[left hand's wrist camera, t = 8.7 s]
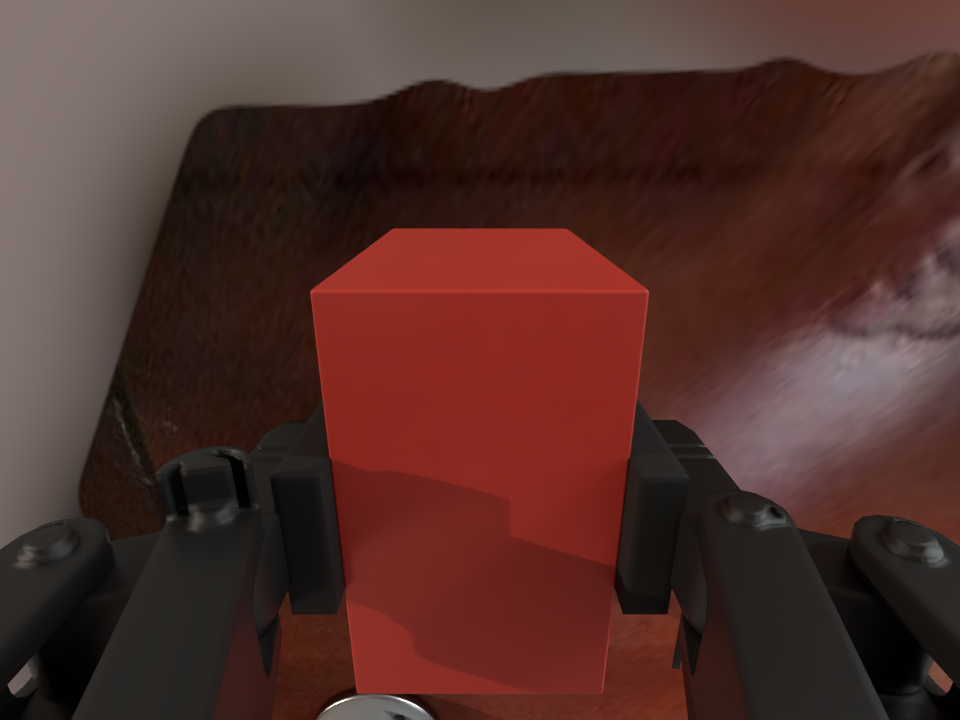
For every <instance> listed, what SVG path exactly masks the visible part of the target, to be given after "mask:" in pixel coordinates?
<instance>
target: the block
mask: <svg viewBox="0 0 960 720" xmlns="http://www.w3.org/2000/svg"><path fill="white" fill-rule="evenodd" d="M648 296H649V292H648V290H647V289H646V288H644V287H643V286H642V285H640V284H639V283H638V282H637V281H635V280H634V279H633V278H631V277H630V276H629V275H627V274H626V273H625V272H623V271H622V270H621V269H619V268H618V267H617V266H615V265H614V264H613V263H611V262H610V261H609V260H607V259H606V258H605V257H603V256H602V255H601V254H599V253H598V252H597V251H595V250H594V249H593V248H591V247H590V246H589V245H587V244H586V243H585V242H583V241H582V240H581V239H579V238H578V237H577V236H575V235H574V234H573V233H572V232H570V231H569V230H568V229H392V230H391V231H389V232H388V233H387V234H385V235H384V236H383V237H381V238H380V239H379V240H377V241H376V242H375V243H373V244H372V245H371V246H369V247H368V248H367V249H365V250H364V251H363V252H361V253H360V254H359V255H358V256H356V257H355V258H354V259H352V260H351V261H350V262H348V263H347V264H346V265H344V266H343V267H342V268H340V269H339V270H338V271H336V272H335V273H334V274H332V275H331V276H330V277H328V278H327V279H326V280H324V281H323V282H322V283H320V284H319V285H318V286H316V287H315V288H314V289H312V290H311V302H312V310H313V319H314V327H315V336H316V345H317V353H318V362H319V371H320V379H321V388H322V396H323V405H324V414H325V422H326V431H327V440H328V448H329V457H330V464H331V473H332V481H333V490H334V499H335V507H336V516H337V525H338V533H339V542H340V550H341V559H342V568H343V576H344V585H345V595H346V604H347V612H348V621H349V629H350V638H351V647H352V655H353V664H354V673H355V681H356V690H357V693H358V694H601V693H602V692H603V685H604V677H605V668H606V659H607V651H608V642H609V633H610V625H611V616H612V607H613V599H614V590H615V581H616V572H617V563H618V555H619V546H620V537H621V529H622V520H623V511H624V503H625V494H626V485H627V477H628V468H629V459H630V452H631V443H632V435H633V426H634V417H635V409H636V400H637V391H638V383H639V374H640V365H641V357H642V348H643V340H644V331H645V322H646V314H647V305H648Z"/></svg>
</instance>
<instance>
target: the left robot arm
mask: <svg viewBox="0 0 960 720" xmlns="http://www.w3.org/2000/svg"><path fill="white" fill-rule="evenodd" d="M155 477H156V481H157V485H158V489H159V493H160V497H161V501H162V505H163V509H164V512H165V516H166V520H167V521H166V523H165V525H164V527H163V529H162V531H159V532H155V533H151V534H146V535H141V536H136V537H131V538H126V539H121V540H116V541H111V542H110V538H109V535H108V532H107V529H106V525H104V524H103V523H102V522H100V521H99V520H98V519H91V518H84V517H82V518H74V519H64V520H59V521H55V522H54V523H52V522H51V523H48V524H45V525H42V526H40V527H38V528H37V529H35V530H32V531H30V532H28V533H26V534H24V535H21V536H20V537H18V538H17V539H15V540H14V541H12V542H11V543H9V544H8V545H6V546H5V547H3V548H2V549H1V550H0V720H272V713H273V705H274V696H275V688H276V679H277V671H278V663H279V654H280V646H281V637H282V631H281V624H280V618H279V613H278V611H279V609H280V606H281V604H282V602H283V600H284V597H285V595H286V593H287V591H289V598H290V604H291V610H292V614H337V611H338V608H339V605H340V602H341V599H342V595H343V592H344V589H345V585H344V576H343V568H342V559H341V550H340V542H339V533H338V525H337V516H336V507H335V499H334V490H333V481H332V473H331V464H330V457H329V448H328V440H327V431H326V422H325V414H324V405H323V399H322V400H321V402H320V403H319V405H318V406H317V408H316V409H315V411H314V412H313V414H312V415H311V417H310V418H309V420H308V421H307V422H283V423H282V424H280V425H278V426H277V427H275V428H274V429H272V430H270V431H269V432H267V433H266V434H265V435H264V436H263V438H262V439H261V440H260V441H259V443H258V444H257V445H256V446H255V449H253V450H252V451H251V453H248V452H247V451H246V450H244V449H243V448H238V447H233V446H212V447H207V448H202V449H197V450H194V451H191V452H188V453H185V454H183V455H180V456H177V457H176V458H174V459H172V460H171V461H169V462H167V463H166V464H164V465H163V466H162V467H161V468H160V469H159V470H158V471H157V472H156V473H155ZM671 589H673V591H674V593H675V596H676V598H677V600H678V602H679V604H680V607H681V609H682V613H681V618H680V624H679V630H678V635H677V641H676V647H675V652H674V658H673V665H672V668H675V669H679V668H680V662H681V661H682V670H683V678H684V687H685V695H686V703H687V712H688V720H960V547H959V546H958V545H957V544H955V543H954V542H952V541H951V540H949V539H948V538H946V537H944V536H943V535H941V534H940V533H938V532H936V531H934V530H931V529H929V528H927V527H925V526H923V525H922V524H920V523H917V522H914V521H911V520H906V519H904V518H899V517H891V516H882V515H873V516H866V517H862V518H861V519H859V520H858V521H857V522H855V524H854V527H853V530H852V534H851V537H850V539H846V538H841V537H836V536H831V535H826V534H821V533H816V532H811V531H806V530H803V529H799V528H797V526H796V524H795V522H794V520H793V519H792V518H791V516H790V515H789V514H788V513H787V511H786V510H785V509H783V508H782V507H780V506H779V505H778V504H776V503H775V502H773V501H772V500H769V499H767V498H765V497H762V496H760V495H758V494H755V493H751V492H747V491H743V490H740V489H739V487H738V486H737V485H736V484H735V482H734V481H733V480H732V479H731V477H730V476H729V475H728V473H727V472H726V471H725V470H724V468H723V467H722V466H721V465H720V463H719V462H718V461H717V460H716V459H714V458H713V455H712V453H711V452H710V451H709V450H708V448H707V447H705V446H704V443H703V442H702V441H701V440H700V438H699V437H698V436H697V435H696V433H695V432H694V431H692V430H691V429H689V428H688V427H686V426H684V425H683V424H681V423H679V422H678V421H676V420H651V419H650V417H649V416H648V414H647V413H646V411H645V410H644V408H643V407H642V405H641V404H640V402H639V401H638V399H637V400H636V409H635V417H634V426H633V435H632V443H631V452H630V459H629V468H628V477H627V485H626V494H625V503H624V511H623V520H622V529H621V537H620V546H619V555H618V563H617V572H616V581H615V590H616V593H617V596H618V600H619V603H620V606H621V609H622V612H623V614H668V607H669V601H670V595H671ZM933 661H935V662H936V663H937V664H938V665H939V666H940V667H941V669H942V670H943V671H944V672H945V673H946V674H947V675H948V676H949V677H950V679H951V680H952V681H953V684H952V686H951V688H950V690H949V692H948V693H946V692H945V691H944V690H942V689H941V688H940V687H939V686H938V685H937V684H936V683H935V682H934V680H933V679H932V678H931V677H930V676H929V675H928V673H929V670H930V668H931V666H932V663H933ZM26 663H27V664H28V667H29V669H30V672H31V674H32V677H31V679H30V680H29V681H28V682H27V683H26V684H25V686H24V687H23V688H21V689H20V690H19V691H18V692H17V693H16V694H14V695H13V694H12V693H11V692H10V690H9V687H8V685H7V684H8V683H9V682H10V681H11V680H12V679H13V678H14V677H15V675H16V674H17V673H18V672H19V671H20V670H21V669H22V668H23V667H24V665H25V664H26ZM315 720H439V718H438V716H437V714H436V713H435V712H434V710H433V709H432V708H431V707H430V706H429V705H428V704H426V703H425V702H424V701H422V700H421V699H419V698H418V697H416V696H414V695H412V694H358V693H357V690H356V688H354V689H351V690H347V691H344V692H342V693H340V694H338V695H336V696H334V697H332V698H331V699H330V700H328V701H327V702H326V703H325V704H324V705H323V706H322V707H321V709H320V710H319V712H318V714H317V716H316V719H315Z"/></svg>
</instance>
